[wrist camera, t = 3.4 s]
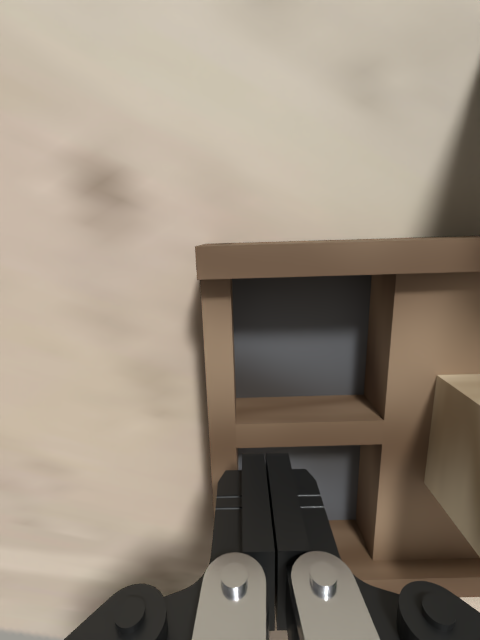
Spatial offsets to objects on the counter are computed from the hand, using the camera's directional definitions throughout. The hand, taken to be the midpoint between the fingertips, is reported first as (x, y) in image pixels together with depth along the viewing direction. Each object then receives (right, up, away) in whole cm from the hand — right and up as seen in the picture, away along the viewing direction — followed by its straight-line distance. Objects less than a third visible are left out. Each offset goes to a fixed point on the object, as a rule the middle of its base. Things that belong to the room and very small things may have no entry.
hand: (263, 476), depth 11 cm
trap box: (+8, +2, +4) cm, 9 cm away
